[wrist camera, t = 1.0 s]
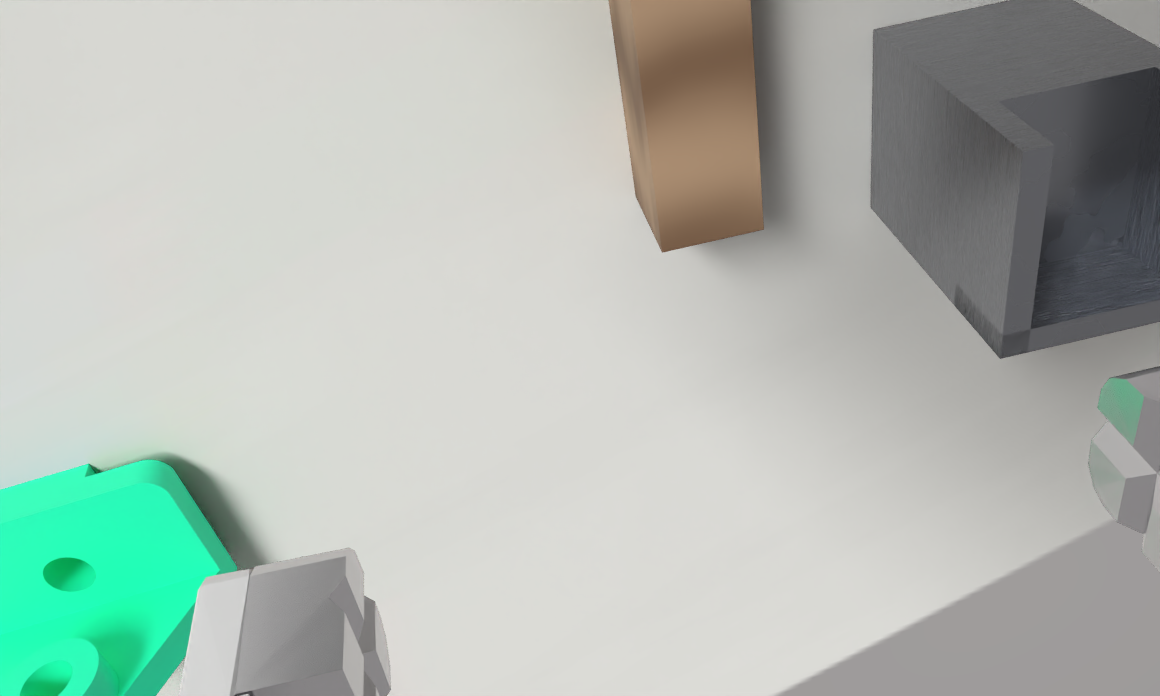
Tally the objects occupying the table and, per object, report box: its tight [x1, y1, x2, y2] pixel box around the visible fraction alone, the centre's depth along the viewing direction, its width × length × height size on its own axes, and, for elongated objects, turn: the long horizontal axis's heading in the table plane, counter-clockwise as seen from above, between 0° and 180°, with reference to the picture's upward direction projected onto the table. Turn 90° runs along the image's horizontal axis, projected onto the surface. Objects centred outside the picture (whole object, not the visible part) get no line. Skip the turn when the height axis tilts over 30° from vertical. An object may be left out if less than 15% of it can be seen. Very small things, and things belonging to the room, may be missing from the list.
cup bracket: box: [871, 0, 1160, 359], centre depth 39 cm, size 8×8×12 cm
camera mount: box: [0, 460, 237, 696], centre depth 45 cm, size 12×8×10 cm, turn 103°
